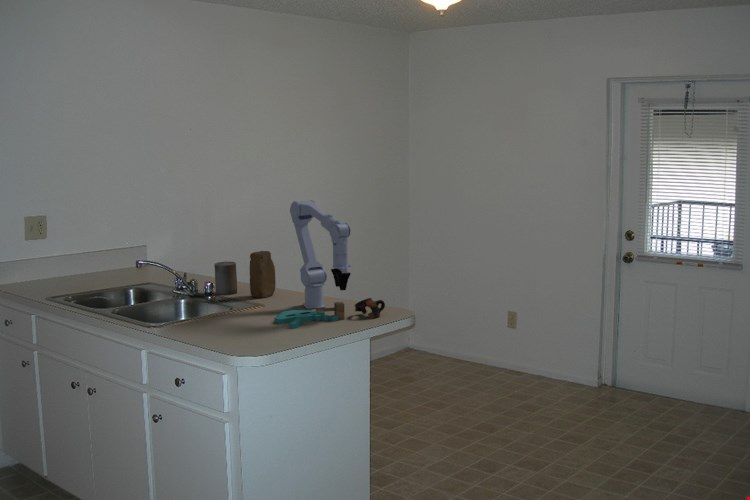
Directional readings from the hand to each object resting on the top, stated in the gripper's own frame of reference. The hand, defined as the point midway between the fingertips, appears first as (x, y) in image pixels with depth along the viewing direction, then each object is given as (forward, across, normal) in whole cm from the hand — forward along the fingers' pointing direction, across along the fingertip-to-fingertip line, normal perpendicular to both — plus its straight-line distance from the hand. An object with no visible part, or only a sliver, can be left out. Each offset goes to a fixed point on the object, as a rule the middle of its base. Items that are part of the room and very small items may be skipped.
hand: (340, 288), depth 304 cm
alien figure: (+11, -5, +17) cm, 21 cm away
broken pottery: (+10, -7, -10) cm, 16 cm away
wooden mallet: (+10, -8, +6) cm, 14 cm away
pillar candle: (+11, +58, +40) cm, 71 cm away
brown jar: (+11, +45, +25) cm, 52 cm away
